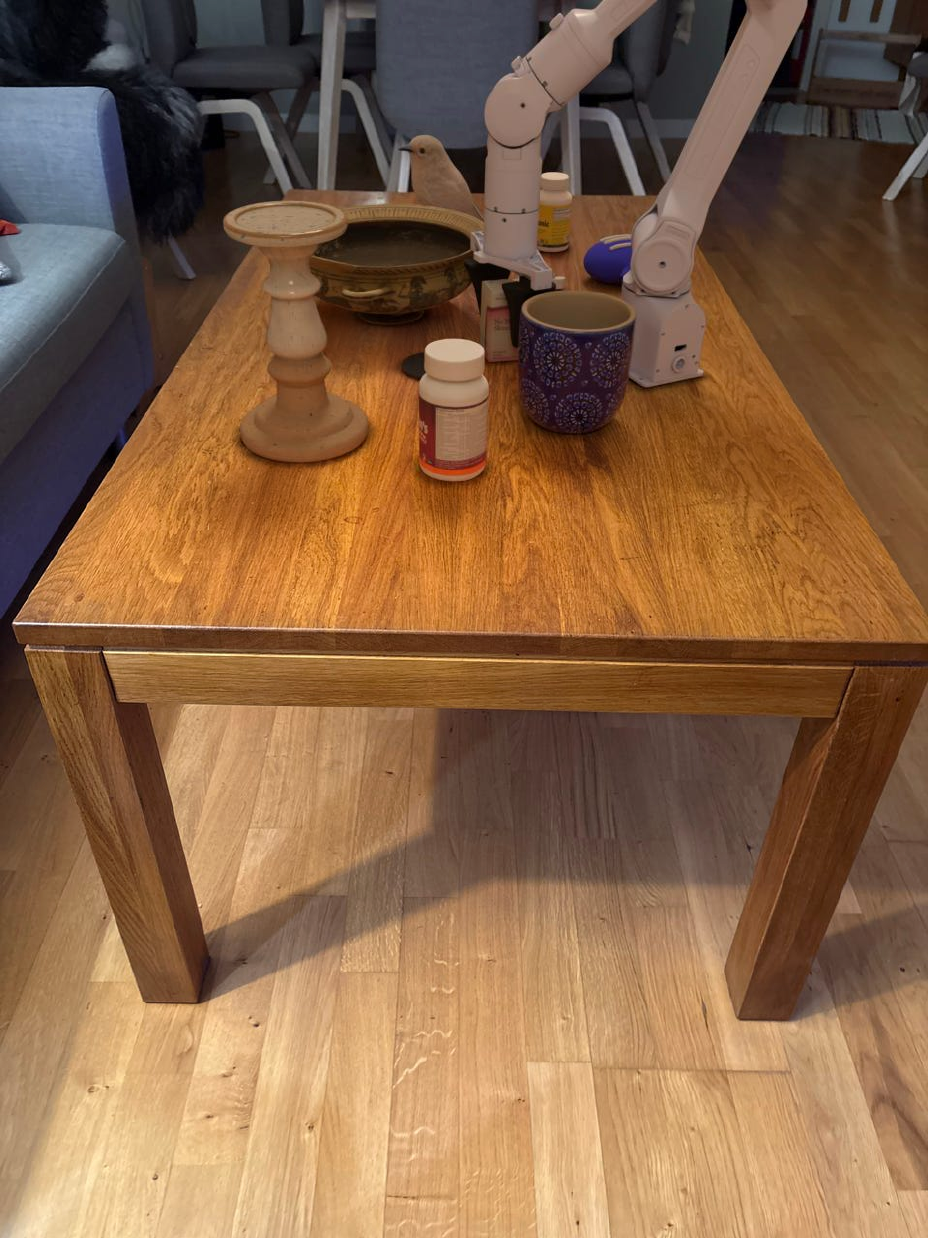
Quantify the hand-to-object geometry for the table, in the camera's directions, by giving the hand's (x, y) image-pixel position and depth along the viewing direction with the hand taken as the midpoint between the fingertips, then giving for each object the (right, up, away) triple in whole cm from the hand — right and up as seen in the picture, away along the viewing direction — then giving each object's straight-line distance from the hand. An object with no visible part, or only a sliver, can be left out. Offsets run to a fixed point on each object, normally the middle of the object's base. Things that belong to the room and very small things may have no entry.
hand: (506, 333), depth 109 cm
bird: (-7, +22, +32) cm, 40 cm away
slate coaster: (-8, -4, -2) cm, 9 cm away
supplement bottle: (+8, +22, +33) cm, 41 cm away
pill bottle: (-6, -18, -19) cm, 27 cm away
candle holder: (-20, -14, -15) cm, 29 cm away
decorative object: (+16, +13, +22) cm, 30 cm away
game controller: (+5, +9, +16) cm, 19 cm away
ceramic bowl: (-14, +5, +11) cm, 19 cm away
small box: (0, -2, +2) cm, 3 cm away
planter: (+6, -12, -11) cm, 17 cm away
